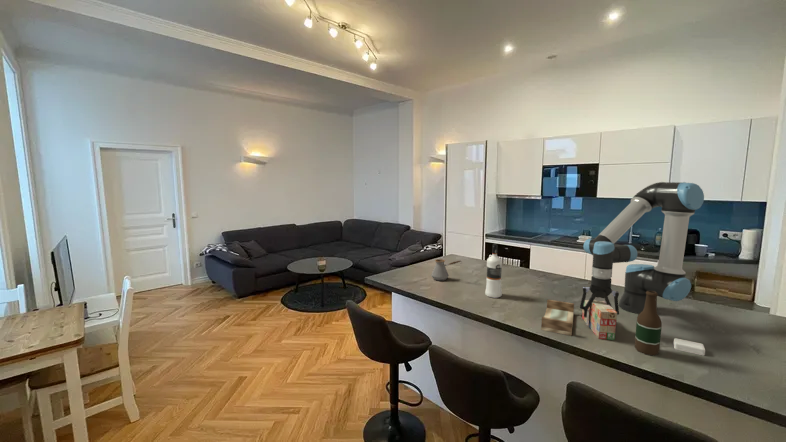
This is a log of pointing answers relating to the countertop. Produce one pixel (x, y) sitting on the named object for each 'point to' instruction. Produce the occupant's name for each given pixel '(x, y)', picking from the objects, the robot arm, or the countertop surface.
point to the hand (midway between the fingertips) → (597, 326)
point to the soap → (689, 346)
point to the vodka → (494, 275)
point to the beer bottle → (648, 327)
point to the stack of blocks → (601, 319)
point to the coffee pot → (441, 270)
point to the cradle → (558, 317)
